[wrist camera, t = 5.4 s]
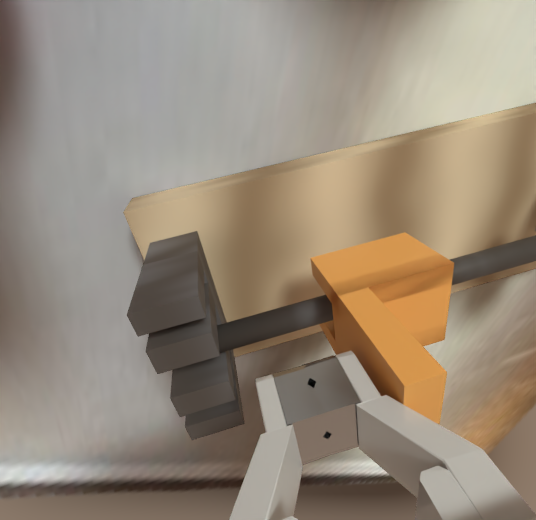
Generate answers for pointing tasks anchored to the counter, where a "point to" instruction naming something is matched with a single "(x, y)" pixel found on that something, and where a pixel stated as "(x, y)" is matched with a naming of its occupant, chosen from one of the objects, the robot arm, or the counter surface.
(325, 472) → the counter surface
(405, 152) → the cord board
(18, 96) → the counter surface
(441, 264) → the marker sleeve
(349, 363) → the robot arm
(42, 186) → the counter surface
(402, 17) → the counter surface
